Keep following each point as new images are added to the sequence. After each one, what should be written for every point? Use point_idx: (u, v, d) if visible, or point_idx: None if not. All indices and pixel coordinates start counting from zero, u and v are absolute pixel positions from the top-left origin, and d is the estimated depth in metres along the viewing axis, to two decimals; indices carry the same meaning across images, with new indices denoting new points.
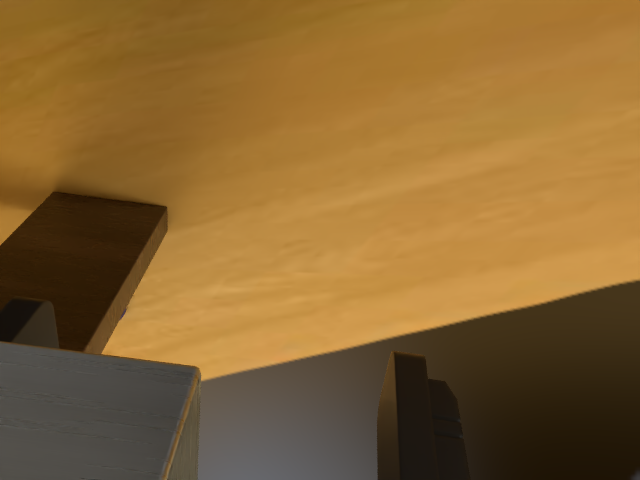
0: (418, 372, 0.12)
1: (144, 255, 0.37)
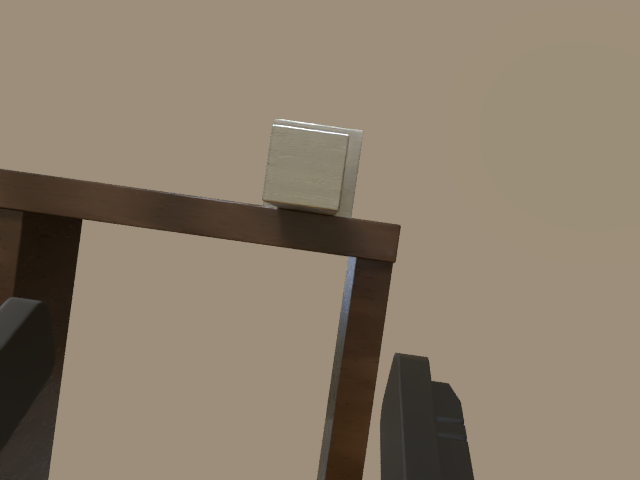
0: (421, 374, 0.12)
1: None
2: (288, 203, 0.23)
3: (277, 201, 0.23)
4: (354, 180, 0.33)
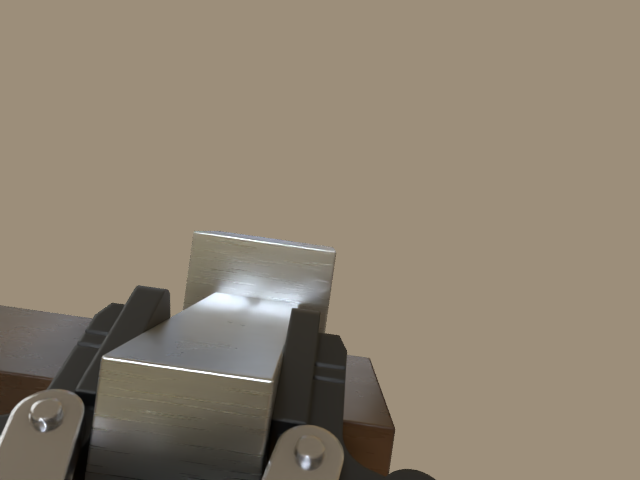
0: (310, 325, 0.13)
1: None
2: None
3: None
4: (321, 331, 0.21)
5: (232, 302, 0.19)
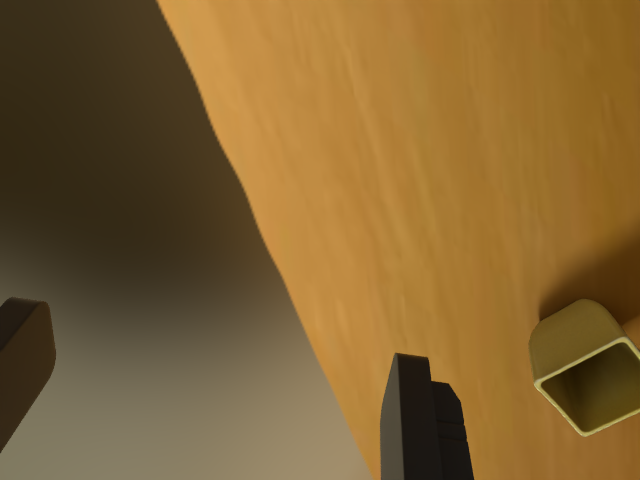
0: (421, 374, 0.12)
1: None
2: None
3: None
4: None
5: None
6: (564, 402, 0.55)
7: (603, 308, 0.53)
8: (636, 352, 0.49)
